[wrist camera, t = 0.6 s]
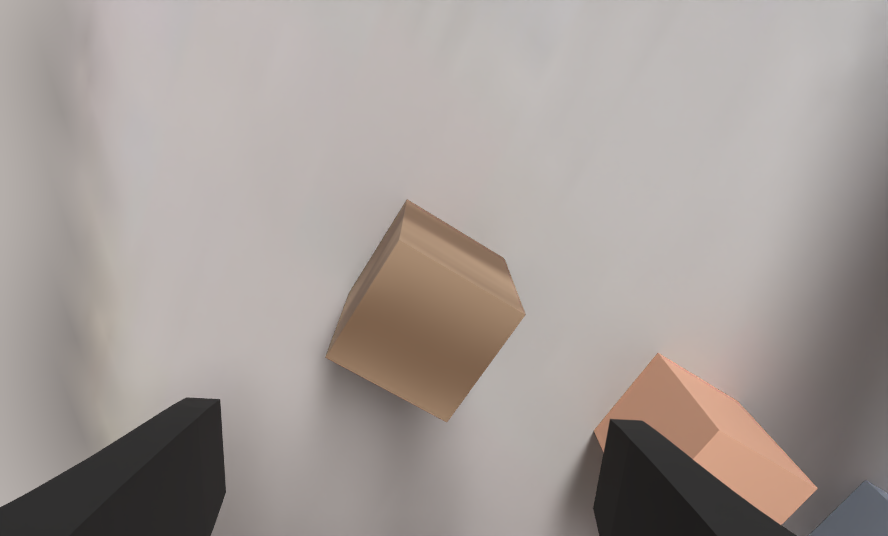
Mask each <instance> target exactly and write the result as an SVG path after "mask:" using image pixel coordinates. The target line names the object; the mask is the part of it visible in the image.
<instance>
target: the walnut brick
mask: <svg viewBox="0 0 888 536" xmlns="http://www.w3.org/2000/svg"><path fill="white" fill-rule="evenodd" d="M525 315H526V314H525V312H524V309H523V307H522V304H521V301H520V299H519V296H518V293H517V291H516V288H515V285H514V283H513V280H512V277H511V275H510V272H509V270H508V267H507V264H506V262H505V259H504V258H503V257H501V256H499V255H498V254H496V253H494V252H493V251H491V250H489V249H488V248H486V247H485V246H483V245H481V244H480V243H478V242H476V241H475V240H473V239H471V238H470V237H468V236H467V235H465V234H463V233H462V232H460V231H458V230H457V229H455V228H453V227H452V226H450V225H448V224H447V223H445V222H444V221H442V220H440V219H439V218H437V217H435V216H434V215H432V214H430V213H429V212H427V211H425V210H424V209H422V208H421V207H419V206H417V205H416V204H414V203H412V202H411V201H409V200H406V202H405V203H404V205H403V207H402V208H401V210H400V211H399V213H398V215H397V216H396V218H395V220H394V221H393V223H392V224H391V226H390V228H389V229H388V231H387V232H386V234H385V236H384V237H383V239H382V241H381V242H380V244H379V245H378V247H377V249H376V250H375V252H374V253H373V255H372V257H371V258H370V260H369V262H368V263H367V265H366V266H365V268H364V270H363V271H362V273H361V274H360V276H359V278H358V279H357V281H356V282H355V284H354V286H353V287H352V289H351V291H350V292H349V295H348V297H347V300H346V303H345V305H344V308H343V311H342V313H341V316H340V319H339V322H338V324H337V327H336V330H335V332H334V335H333V338H332V341H331V343H330V346H329V349H328V351H327V354H326V357H325V358H327V359H329V360H331V361H333V362H335V363H337V364H338V365H340V366H342V367H344V368H346V369H348V370H350V371H352V372H353V373H355V374H357V375H359V376H361V377H363V378H365V379H367V380H368V381H370V382H372V383H374V384H376V385H378V386H380V387H382V388H383V389H385V390H387V391H389V392H391V393H393V394H395V395H397V396H398V397H400V398H402V399H404V400H406V401H408V402H410V403H412V404H413V405H415V406H417V407H419V408H421V409H423V410H425V411H427V412H428V413H430V414H432V415H434V416H436V417H438V418H440V419H442V420H443V421H445V422H448V420H449V419H450V418H451V416H452V415H453V413H454V412H455V411H456V409H457V408H458V407H459V405H460V404H461V402H462V401H463V400H464V398H465V397H466V396H467V394H468V393H469V391H470V390H471V389H472V387H473V386H474V385H475V383H476V382H477V381H478V379H479V378H480V376H481V375H482V374H483V372H484V371H485V370H486V368H487V367H488V365H489V364H490V363H491V361H492V360H493V359H494V357H495V356H496V354H497V353H498V352H499V350H500V349H501V348H502V346H503V345H504V343H505V342H506V341H507V339H508V338H509V337H510V335H511V334H512V333H513V331H514V330H515V328H516V327H517V326H518V324H519V323H520V322H521V320H522V319H523V317H524V316H525Z"/></svg>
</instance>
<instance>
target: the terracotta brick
mask: <svg viewBox="0 0 888 536" xmlns="http://www.w3.org/2000/svg"><path fill="white" fill-rule="evenodd" d="M610 419H623V420H642V421H644V422H645V423H647V424H648V425H650V426H651V427H652V428H654V429H655V430H656V431H658V432H659V433H660V434H662V435H663V436H664V437H666V438H667V439H668V440H669V441H671V442H672V443H673V444H674V445H676V446H677V447H678V448H679V449H681V450H682V451H683V452H684V453H686V454H687V455H688V456H689V457H691V458H692V459H693V460H694V461H696V462H697V463H698V464H699V465H701V466H702V467H703V468H705V469H706V470H707V471H708V472H710V473H711V474H712V475H713V476H715V477H716V478H717V479H719V480H720V481H721V482H722V483H724V484H725V485H726V486H728V487H729V488H730V489H732V490H733V491H734V492H736V493H737V494H738V495H740V496H741V497H742V498H744V499H745V500H746V501H748V502H749V503H750V504H752V505H753V506H754V507H756V508H757V509H759V510H760V511H762V512H763V513H764V514H766V515H767V516H769V517H770V518H772V519H773V520H774V521H776V522H777V523H779V524H780V525H782V524H783V523H784V522H785V521H786V520H787V519H788V518H789V517H790V516H791V515H792V514H793V513H794V512H795V511H796V510H797V509H798V508H799V507H800V506H801V505H802V504H803V503H804V502H805V501H806V500H807V499H808V498H809V497H810V496H811V495H812V494H813V493H814V492H815V491H816V490H817V489H818V488H817V487H816V486H815V485H814V484H813V483H812V482H811V480H810V479H809V478H808V477H807V476H806V475H805V474H804V473H803V472H802V471H801V470H800V468H799V467H798V466H797V465H796V464H795V463H794V462H793V461H792V460H791V459H790V458H789V456H788V455H787V454H786V453H785V452H784V451H783V450H782V449H781V448H780V447H779V446H778V445H777V443H776V442H775V441H774V440H773V439H772V438H771V437H770V436H769V435H768V434H767V433H766V431H765V430H764V429H763V428H762V427H761V426H760V425H759V424H758V423H757V422H756V421H755V419H754V418H753V417H752V416H751V415H750V414H749V413H748V412H747V411H746V410H745V409H744V407H743V406H742V405H741V404H740V403H739V402H738V401H736V400H735V399H733V398H731V397H730V396H728V395H726V394H725V393H723V392H722V391H720V390H718V389H717V388H715V387H713V386H712V385H710V384H708V383H707V382H705V381H703V380H702V379H700V378H699V377H697V376H695V375H694V374H692V373H690V372H689V371H687V370H685V369H684V368H682V367H680V366H679V365H677V364H676V363H674V362H672V361H671V360H669V359H667V358H666V357H664V356H662V355H661V354H659V353H657V354H656V356H655V357H654V358H653V359H652V361H651V362H650V363H649V364H648V365H647V367H646V368H645V369H644V370H643V371H642V373H641V374H640V375H639V376H638V378H637V379H636V380H635V381H634V382H633V384H632V385H631V386H630V387H629V388H628V390H627V391H626V392H625V393H624V395H623V396H622V397H621V398H620V399H619V401H618V402H617V403H616V404H615V405H614V407H613V408H612V409H611V410H610V412H609V413H608V414H607V415H606V416H605V418H604V419H603V420H602V421H601V422H600V424H599V425H598V426H597V427H596V429H595V430H594V432H595V435H596V437H597V439H598V441H599V444H600V446H601V448H602V450H603V452H604V448H605V443H606V438H607V432H608V427H609V422H610Z"/></svg>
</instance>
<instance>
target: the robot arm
mask: <svg viewBox="0 0 888 536" xmlns="http://www.w3.org/2000/svg"><path fill="white" fill-rule="evenodd" d="M225 493H226V487H225V471H224V454H223V438H222V422H221V406H220V399H204V398H185V399H183V400H181V401H179V402H177V403H176V404H174V405H172V406H171V407H169V408H167V409H166V410H164V411H162V412H161V413H159V414H158V415H156V416H154V417H153V418H151V419H150V420H148V421H147V422H145V423H143V424H142V425H140V426H139V427H137V428H136V429H134V430H133V431H131V432H129V433H128V434H126V435H125V436H123V437H121V438H120V439H118V440H117V441H115V442H113V443H112V444H110V445H109V446H107V447H105V448H104V449H102V450H101V451H99V452H97V453H96V454H94V455H93V456H91V457H89V458H88V459H86V460H84V461H82V462H81V463H79V464H77V465H75V466H74V467H72V468H70V469H69V470H67V471H65V472H63V473H62V474H60V475H58V476H57V477H55V478H53V479H51V480H49V481H48V482H46V483H45V484H42V485H41V486H39V487H37V488H35V489H34V490H32V491H30V492H29V493H27V494H25V495H23V496H21V497H19V498H17V499H16V500H14V501H12V502H10V503H8V504H6V505H4V506H2V507H0V536H211V533H212V530H213V528H214V525H215V522H216V519H217V517H218V514H219V511H220V508H221V505H222V502H223V499H224V496H225ZM593 509H594V513H595V518H596V522H597V527H598V531H599V536H796V535H795V534H793V533H792V532H790V531H789V530H787V529H786V528H784V527H783V526H782V525H780V524H779V523H777V522H776V521H774V520H773V519H772V518H770V517H769V516H767V515H766V514H764V513H763V512H762V511H760V510H759V509H757V508H756V507H754V506H753V505H752V504H750V503H749V502H748V501H746V500H745V499H744V498H742V497H741V496H740V495H738V494H737V493H736V492H734V491H733V490H732V489H730V488H729V487H728V486H726V485H725V484H724V483H722V482H721V481H720V480H719V479H717V478H716V477H715V476H713V475H712V474H711V473H710V472H708V471H707V470H706V469H705V468H703V467H702V466H701V465H699V464H698V463H697V462H696V461H694V460H693V459H692V458H691V457H689V456H688V455H687V454H686V453H684V452H683V451H682V450H681V449H679V448H678V447H677V446H676V445H674V444H673V443H672V442H671V441H669V440H668V439H667V438H666V437H664V436H663V435H662V434H660V433H659V432H658V431H656V430H655V429H654V428H652V427H651V426H650V425H648V424H647V423H645V422H644V421H642V420H623V419H610V422H609V427H608V432H607V438H606V443H605V448H604V454H603V459H602V465H601V470H600V475H599V481H598V486H597V491H596V497H595V502H594V508H593Z"/></svg>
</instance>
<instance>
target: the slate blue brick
mask: <svg viewBox="0 0 888 536" xmlns="http://www.w3.org/2000/svg"><path fill="white" fill-rule="evenodd" d="M809 536H888V493H886V492H885V491H883V490H882V489H880V488H878V487H877V486H875V485H873V484H872V483H870V482H868V481H867V480H865V481H864V482H863V483H862V484H861V485H860V486H859V487H858V488H857V489H856V490H855V491H854V492H853V493H852V494H851V495H850V496H849V497H848V498H847V499H846V500H844V501H843V502H842V503H841V504H840V505H839V506H838V507H837V508H836V509H835V510H834V511H833V512H832V513H831V514H830V515H829V516H828V517H827V518H826V519H825V520H824V521H823V522H822V523H821V524H820V525H819V526H818V527H817V528H816V529H815V530H814V531H813V532H812V533H811V534H810V535H809Z"/></svg>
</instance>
